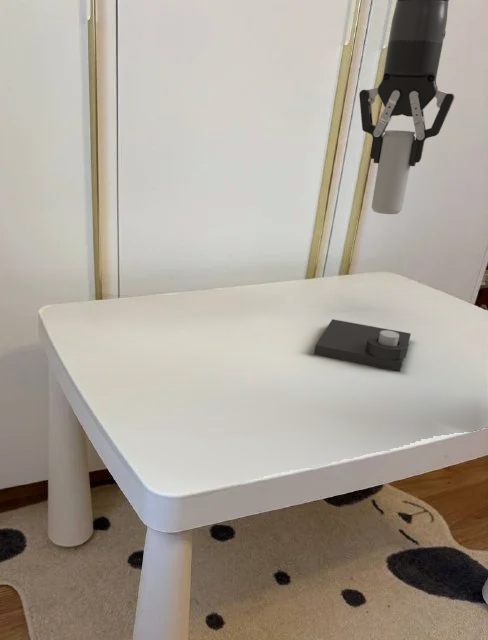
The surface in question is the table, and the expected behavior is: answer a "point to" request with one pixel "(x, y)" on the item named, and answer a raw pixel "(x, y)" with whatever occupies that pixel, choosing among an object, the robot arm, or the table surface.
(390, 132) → the beverage can
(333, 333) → the scale
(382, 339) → the button
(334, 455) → the table surface
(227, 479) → the table surface
